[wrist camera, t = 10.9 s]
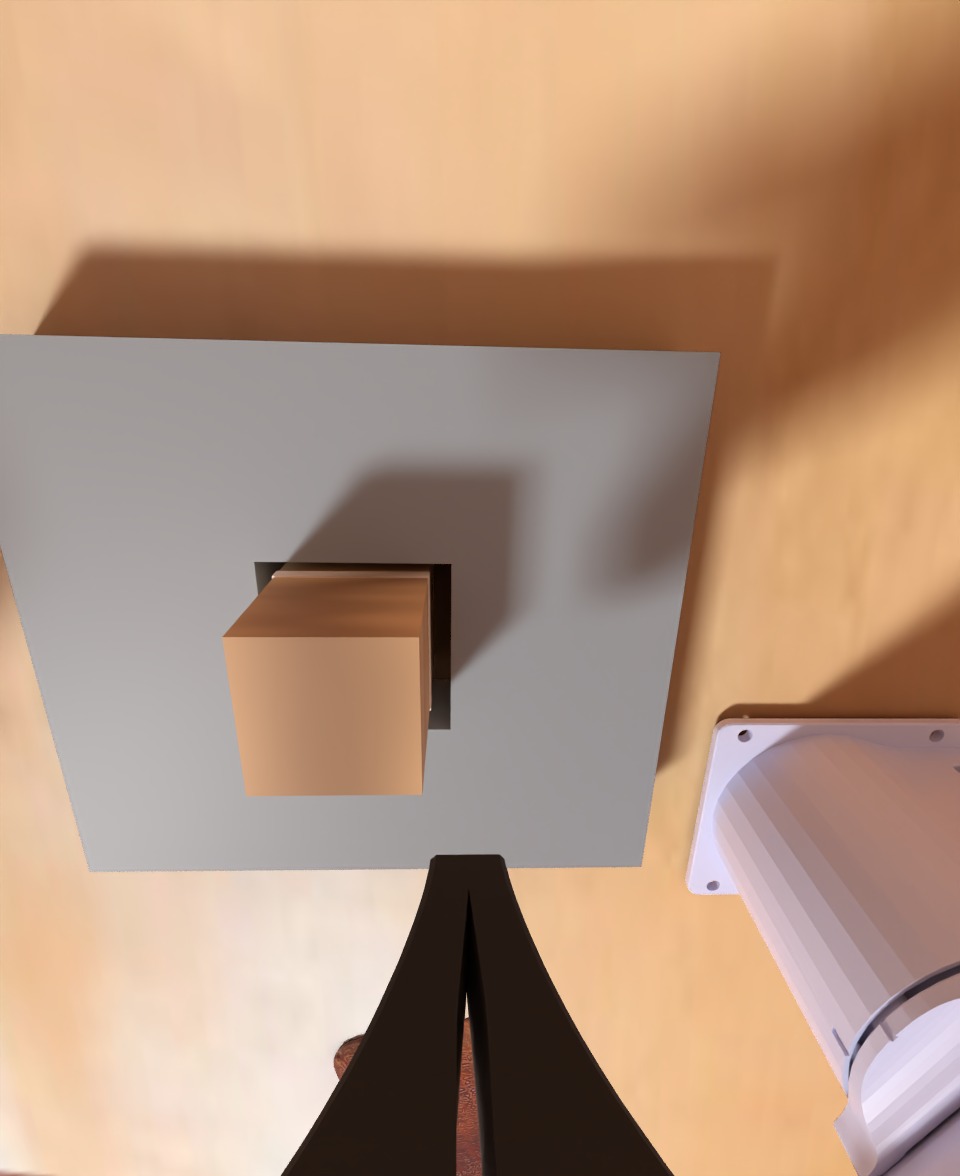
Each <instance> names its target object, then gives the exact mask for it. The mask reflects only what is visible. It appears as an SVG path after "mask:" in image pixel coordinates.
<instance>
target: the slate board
mask: <svg viewBox="0 0 960 1176" xmlns="http://www.w3.org/2000/svg"><path fill="white" fill-rule="evenodd" d="M720 354H721V352H685V351H645V350H605V349H566V348H526V347H486V346H447V345H407V344H367V343H328V342H288V341H248V340H209V339H169V338H130V337H90V336H50V335H11V334H0V547H1V550H2V554H3V558H4V561H5V565H6V568H7V572H8V576H9V579H10V583H11V587H12V590H13V594H14V598H15V601H16V605H17V609H18V612H19V616H20V620H21V623H22V627H23V630H24V634H25V638H26V641H27V645H28V649H29V652H30V656H31V660H32V663H33V667H34V671H35V674H36V678H37V681H38V685H39V689H40V692H41V696H42V700H43V703H44V707H45V711H46V714H47V718H48V722H49V725H50V729H51V732H52V736H53V740H54V743H55V747H56V751H57V754H58V758H59V762H60V765H61V769H62V773H63V776H64V780H65V783H66V787H67V791H68V794H69V798H70V802H71V805H72V809H73V813H74V816H75V820H76V824H77V827H78V831H79V834H80V838H81V842H82V845H83V849H84V853H85V856H86V860H87V864H88V867H89V871H90V872H135V871H245V870H355V869H429V865H430V859H432V858H433V857H434V856H435V855H463V854H500V855H501V856H502V857H503V858H504V859H505V863H506V868H574V867H641V866H642V859H643V853H644V846H645V840H646V833H647V827H648V820H649V814H650V807H651V801H652V794H653V788H654V781H655V775H656V768H657V762H658V755H659V749H660V742H661V736H662V730H663V723H664V717H665V710H666V704H667V697H668V691H669V684H670V678H671V671H672V665H673V658H674V652H675V645H676V639H677V632H678V626H679V619H680V613H681V606H682V600H683V594H684V587H685V581H686V574H687V568H688V561H689V555H690V548H691V542H692V535H693V529H694V522H695V516H696V509H697V503H698V496H699V490H700V483H701V477H702V470H703V464H704V458H705V451H706V445H707V438H708V432H709V425H710V419H711V412H712V406H713V399H714V393H715V386H716V380H717V373H718V367H719V360H720ZM286 562H320V563H411V564H451V679H432V687H431V695H432V704H431V711H429V722H428V734H427V746H426V758H425V770H424V782H423V794H422V795H340V796H246V792H245V785H244V779H243V772H242V766H241V759H240V752H239V746H238V739H237V733H236V726H235V719H234V713H233V706H232V700H231V693H230V686H229V680H228V673H227V667H226V660H225V653H224V647H223V640H222V637H223V636H224V634H225V633H226V632H227V631H228V630H229V629H230V627H231V626H232V625H233V624H234V623H235V622H236V620H237V619H238V618H239V617H240V616H241V615H242V613H243V612H244V611H245V610H246V609H247V608H248V607H249V605H250V604H251V603H252V602H253V601H254V600H255V598H256V597H257V596H258V595H259V594H260V593H261V591H262V590H263V589H264V588H265V587H266V586H267V584H268V583H269V582H270V581H271V580H272V575H273V574H274V573H275V572H276V571H280V569H281V568H282V567H283V566H284V565H285V564H286Z"/></svg>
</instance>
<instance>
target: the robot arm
mask: <svg viewBox="0 0 960 1176" xmlns="http://www.w3.org/2000/svg"><path fill="white" fill-rule="evenodd" d="M743 730H747V732H746V733H745V734H744V735H741V736H738V735H739V733H740V732H741V731H743ZM934 731H935V732H934ZM932 732H934V733H933V734H931V733H932ZM711 881H712V882H711ZM685 883H686V885H687V887H688V889H689V891H690V892H692V893H693V894H699V895H701V894H740V896H741V898H742V900H743V902H744V903H745V905H746V907H747V909H748V911H749V913H750V915H751V917H752V919H753V920H754V922H755V924H756V926H757V928H758V930H759V932H760V934H761V936H762V938H763V939H764V941H765V943H766V945H767V947H768V949H769V951H770V953H771V955H772V956H773V958H774V960H775V962H776V964H777V966H778V968H779V970H780V972H781V973H782V975H783V977H784V979H785V981H786V983H787V985H788V987H789V989H790V991H791V992H792V994H793V996H794V998H795V1000H796V1002H797V1004H798V1006H799V1008H800V1009H801V1011H802V1013H803V1015H804V1017H805V1019H806V1021H807V1023H808V1025H809V1026H810V1028H811V1030H812V1032H813V1034H814V1036H815V1038H816V1040H817V1042H818V1044H819V1045H820V1047H821V1049H822V1051H823V1053H824V1055H825V1057H826V1059H827V1061H828V1062H829V1064H830V1066H831V1068H832V1070H833V1072H834V1074H835V1076H836V1078H837V1079H838V1081H839V1083H840V1085H841V1087H842V1089H843V1091H844V1093H845V1095H846V1097H847V1098H848V1102H847V1105H846V1107H845V1109H844V1110H843V1112H842V1113H841V1114H840V1116H839V1117H838V1118H837V1119H836V1120H835V1121H834V1124H833V1125H834V1127H835V1129H836V1131H837V1133H838V1136H839V1138H840V1140H841V1142H842V1144H843V1146H844V1148H845V1150H846V1152H847V1154H848V1156H849V1158H850V1160H851V1162H852V1164H853V1166H854V1168H855V1170H856V1172H857V1174H858V1176H960V719H829V718H729V719H724V720H722V721H720V722H719V723H718V724H717V725H716V726H715V728H714V730H713V736H712V741H711V746H710V751H709V757H708V762H707V767H706V772H705V778H704V783H703V788H702V793H701V799H700V804H699V809H698V814H697V820H696V825H695V830H694V835H693V841H692V846H691V851H690V856H689V862H688V867H687V872H686V877H685ZM466 993H467V1002H468V1013H469V1024H470V1035H471V1047H472V1058H473V1069H474V1080H475V1091H476V1102H477V1113H478V1124H479V1135H480V1152H481V1168H482V1176H674V1175H673V1173H672V1172H671V1171H670V1170H669V1168H668V1167H667V1166H666V1164H665V1163H664V1161H663V1160H662V1158H661V1157H660V1156H659V1154H658V1153H657V1151H656V1150H655V1148H654V1147H653V1146H652V1144H651V1143H650V1141H649V1140H648V1138H647V1137H646V1136H645V1134H644V1133H643V1131H642V1130H641V1128H640V1127H639V1126H638V1124H637V1123H636V1121H635V1120H634V1118H633V1117H632V1115H631V1114H630V1113H629V1111H628V1110H627V1108H626V1107H625V1105H624V1104H623V1103H622V1101H621V1100H620V1098H619V1096H618V1095H617V1093H616V1092H615V1090H614V1089H613V1087H612V1085H611V1084H610V1082H609V1081H608V1079H607V1078H606V1076H605V1074H604V1073H603V1071H602V1070H601V1068H600V1067H599V1065H598V1063H597V1062H596V1060H595V1058H594V1057H593V1055H592V1053H591V1052H590V1050H589V1048H588V1046H587V1045H586V1043H585V1041H584V1040H583V1038H582V1036H581V1035H580V1033H579V1031H578V1029H577V1028H576V1026H575V1024H574V1022H573V1020H572V1019H571V1017H570V1015H569V1013H568V1011H567V1009H566V1007H565V1006H564V1004H563V1002H562V1000H561V998H560V996H559V994H558V992H557V990H556V988H555V986H554V984H553V982H552V980H551V978H550V976H549V974H548V972H547V970H546V968H545V966H544V964H543V962H542V959H541V957H540V955H539V953H538V951H537V948H536V946H535V944H534V942H533V939H532V937H531V935H530V933H529V930H528V928H527V926H526V923H525V921H524V918H523V916H522V913H521V910H520V908H519V905H518V902H517V900H516V897H515V894H514V891H513V888H512V885H511V882H510V879H509V875H508V871H507V868H506V863H505V859H504V858H503V857H502V856H501V855H500V854H463V855H435V856H434V857H433V858H432V859H430V865H429V871H428V876H427V880H426V884H425V888H424V892H423V895H422V899H421V902H420V905H419V908H418V911H417V914H416V917H415V920H414V923H413V925H412V928H411V931H410V933H409V936H408V938H407V941H406V944H405V946H404V949H403V952H402V954H401V957H400V959H399V962H398V964H397V966H396V969H395V971H394V973H393V975H392V977H391V980H390V982H389V984H388V986H387V988H386V991H385V993H384V995H383V997H382V1000H381V1002H380V1004H379V1006H378V1008H377V1010H376V1012H375V1014H374V1017H373V1019H372V1021H371V1023H370V1025H369V1027H368V1029H367V1031H366V1033H365V1035H364V1036H363V1038H362V1040H361V1042H360V1044H359V1046H358V1048H357V1050H356V1052H355V1054H354V1055H353V1057H352V1059H351V1061H350V1063H349V1065H348V1067H347V1068H346V1070H345V1072H344V1074H343V1075H342V1077H341V1079H340V1081H339V1082H338V1084H337V1086H336V1088H335V1089H334V1091H333V1093H332V1094H331V1096H330V1098H329V1100H328V1101H327V1103H326V1105H325V1107H324V1108H323V1110H322V1112H321V1113H320V1115H319V1117H318V1118H317V1120H316V1122H315V1123H314V1125H313V1127H312V1128H311V1130H310V1131H309V1133H308V1135H307V1136H306V1138H305V1140H304V1141H303V1143H302V1144H301V1146H300V1147H299V1149H298V1150H297V1152H296V1153H295V1155H294V1156H293V1158H292V1159H291V1161H290V1162H289V1164H288V1165H287V1167H286V1169H285V1170H284V1172H283V1173H282V1175H281V1176H456V1131H457V1118H458V1104H459V1090H460V1076H461V1062H462V1048H463V1035H464V1021H465V1007H466Z"/></svg>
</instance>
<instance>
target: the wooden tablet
mask: <svg viewBox="0 0 960 1176" xmlns="http://www.w3.org/2000/svg"><path fill="white" fill-rule="evenodd" d="M362 1038H363V1037H361V1038H358V1039H355V1040H353V1041H349V1042H347V1043H346V1044H344V1045H343V1046H341V1048H340V1049H339V1050H338V1052H337V1053H336V1055H335V1057H334V1068H335V1071H336V1073H337V1076H338V1078H339V1080H340V1079H341V1077H342V1075H343V1074H344V1072H345V1070H346V1068H347V1067H348V1065H349V1063H350V1061H351V1059H352V1057H353V1055H354V1054H355V1052H356V1050H357V1048H358V1046H359V1044H360V1042H361V1040H362ZM456 1176H482V1168H481V1152H480V1135H479V1124H478V1113H477V1102H476V1091H475V1080H474V1069H473V1058H472V1047H471V1035H470V1024H469V1018H466V1019H465V1021H464V1035H463V1048H462V1062H461V1076H460V1090H459V1104H458V1118H457V1131H456Z"/></svg>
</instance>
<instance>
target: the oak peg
mask: <svg viewBox="0 0 960 1176" xmlns="http://www.w3.org/2000/svg"><path fill="white" fill-rule="evenodd" d="M222 640H223V647H224V653H225V660H226V667H227V673H228V680H229V686H230V693H231V700H232V706H233V713H234V719H235V726H236V733H237V739H238V746H239V752H240V759H241V766H242V772H243V779H244V785H245V792H246V796H340V795H422V794H423V782H424V770H425V758H426V746H427V734H428V722H429V711H431V704H432V695H431V687H432V675H433V663H434V594H433V564H411V563H320V562H286V564H285V565H284V566H283V567H282V568H281V569H280V571H276V572H275V573H274V574H273V575H272V580H271V581H270V582H269V583H268V584H267V586H266V587H265V588H264V589H263V590H262V591H261V593H260V594H259V595H258V596H257V597H256V598H255V600H254V601H253V602H252V603H251V604H250V605H249V607H248V608H247V609H246V610H245V611H244V612H243V613H242V615H241V616H240V617H239V618H238V619H237V620H236V622H235V623H234V624H233V625H232V626H231V627H230V629H229V630H228V631H227V632H226V633H225V634H224V636H223V637H222Z"/></svg>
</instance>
